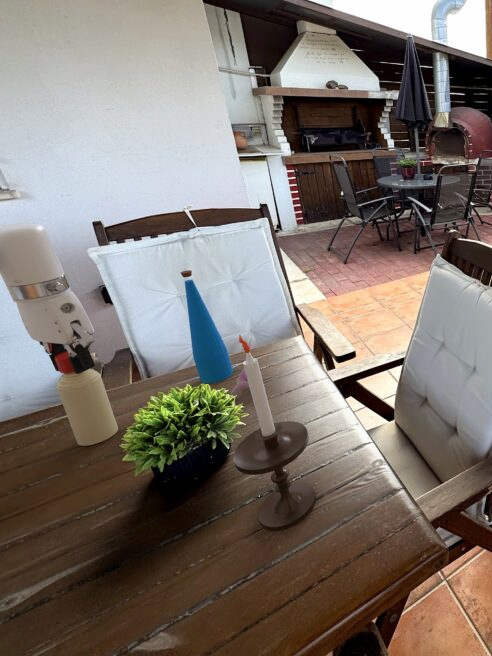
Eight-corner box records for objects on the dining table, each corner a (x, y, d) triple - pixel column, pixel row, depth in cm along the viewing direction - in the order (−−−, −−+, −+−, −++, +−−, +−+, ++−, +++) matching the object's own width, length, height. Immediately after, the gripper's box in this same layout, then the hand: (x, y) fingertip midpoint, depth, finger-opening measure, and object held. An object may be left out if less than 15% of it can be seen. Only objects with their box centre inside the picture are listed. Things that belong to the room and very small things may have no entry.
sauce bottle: (70, 448, 84) (39, 368, 78) (87, 429, 90) (60, 352, 84) (109, 441, 86) (82, 362, 80) (123, 423, 92) (99, 347, 86)
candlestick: (238, 523, 69) (180, 346, 57) (290, 475, 78) (250, 314, 66) (285, 545, 65) (234, 360, 53) (334, 491, 75) (300, 325, 63)
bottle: (217, 385, 105) (185, 277, 95) (193, 382, 106) (160, 275, 96) (239, 369, 112) (212, 267, 102) (217, 367, 113) (188, 265, 103)
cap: (78, 361, 85) (73, 348, 84) (94, 363, 84) (90, 350, 83) (53, 372, 81) (48, 358, 80) (70, 374, 80) (65, 360, 79)
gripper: (97, 283, 79) (128, 363, 85) (31, 278, 81) (66, 355, 88) (50, 298, 72) (87, 384, 78) (-21, 292, 75) (21, 375, 81)
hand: (75, 368), depth 83 cm, fingers closed on cap, 4 cm apart
